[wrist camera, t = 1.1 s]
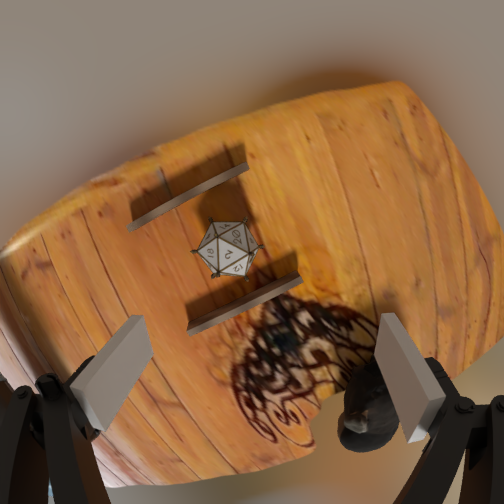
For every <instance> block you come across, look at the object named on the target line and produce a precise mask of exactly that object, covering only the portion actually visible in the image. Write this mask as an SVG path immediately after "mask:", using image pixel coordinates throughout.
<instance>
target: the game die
mask: <svg viewBox="0 0 504 504" xmlns="http://www.w3.org/2000/svg"><path fill="white" fill-rule="evenodd" d="M247 220H248V219H247V217H245V218H244V219H243V222H213V219H212V218H211V217H209V221H210V222H211V224H210V226H209V228H208V230H207V232H206V234H205V236H204V238H203V240H202V241H201V243H200V245H199V247H198V249H197V250H192V251H190V252H191V253H198V254H199V256H200V257H201V258H202V259H203V261H204V262H205V263H206V265H207V266H208V267H209V269H210V270H211V271H212V272H213V274H212V275H211V279H213V278H215V275H216V277H219V276H220V275H228V276H242V277H244V279H245V281H248V282H249V278H248V277H247V276H246V274H247V272H248V270H249V268H250V266H251V264H252V262H253V260H254V257H255V255H256V253H257V251H258V249H259V248H260V249H261V248H262V249H263V248H264V247H265V246H264V245H258V244H257V242H256V241H255V239H254V237H253V236H252V234H251V232H250V231H249V229H248V227H247V226H246V224H245V222H247Z"/></svg>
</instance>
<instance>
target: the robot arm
mask: <svg viewBox="0 0 504 504" xmlns="http://www.w3.org/2000/svg"><path fill="white" fill-rule="evenodd" d="M153 354H154V353H153V350H152V346H151V343H150V339H149V335H148V331H147V328H146V324H145V320H144V316H143V315H132V316H131V317H130V318H129V319H128V320H127V321H126V322H125V323H124V324H123V326H122V327H121V328H120V329H119V330H118V331H117V332H116V333H115V334H114V335H113V337H112V338H111V339H110V340H109V341H108V342H107V343H106V344H105V346H104V347H103V348H102V349H101V350H100V351H99V352H98V354H97V355H96V356H94V355H93V356H91V357H89V358H88V359H86V360H85V361H84V362H83V363H82V364H81V365H80V367H79V368H78V369H77V370H76V372H74V373H73V375H72V376H71V377H70V378H69V379H68V380H67V381H66V383H65V384H61V382H60V380H59V378H58V376H57V375H56V374H53V373H48V374H44V375H42V376H41V377H39V378H38V379H37V380H36V383H35V386H36V388H37V389H38V391H39V393H40V394H35V393H34V392H33V390H32V388H31V387H30V386H26V385H24V386H20V387H18V388H17V389H16V390H15V391H14V390H13V388H12V387H11V386H10V384H9V383H8V381H7V379H6V378H4V376H3V375H2V374H1V372H0V504H48V495H49V496H53V498H54V502H55V504H111V502H110V499H109V497H108V494H107V491H106V489H105V486H104V483H103V480H102V477H101V474H100V471H99V468H98V465H97V462H96V458H95V455H94V451H93V448H92V444H91V442H92V441H93V440H95V439H96V438H97V437H98V436H99V434H100V432H101V430H102V431H105V432H106V431H107V429H108V427H109V426H110V424H111V422H112V421H113V419H114V417H115V416H116V414H117V412H118V411H119V409H120V407H121V406H122V404H123V402H124V401H125V399H126V398H127V396H128V394H129V393H130V391H131V389H132V388H133V386H134V385H135V383H136V381H137V380H138V378H139V377H140V375H141V373H142V372H143V370H144V369H145V367H146V365H147V364H148V362H149V361H150V359H151V358H152V356H153ZM374 356H375V358H376V361H377V363H378V366H379V368H380V370H381V373H382V375H383V378H384V380H385V383H386V385H387V388H388V391H389V393H390V396H391V398H392V401H393V404H394V406H395V409H396V412H397V415H398V417H399V420H400V423H401V426H402V429H403V432H404V434H405V437H406V440H407V443H411V442H415V441H419V440H423V439H424V437H425V435H426V434H427V432H428V433H429V435H430V440H429V441H428V443H427V444H426V446H425V447H424V449H423V450H422V451H423V453H422V455H421V457H420V459H419V461H418V463H417V465H416V466H415V468H414V470H413V472H412V474H411V475H410V477H409V479H408V481H407V482H406V484H405V485H404V487H403V489H402V490H401V492H400V494H399V495H398V497H397V498H396V500H395V501H394V503H393V504H442V503H443V501H444V499H445V497H446V495H447V493H448V491H449V488H450V486H451V484H452V482H453V479H454V477H455V475H456V472H457V470H458V467H459V465H460V462H461V459H462V456H463V454H464V451H465V449H466V452H465V464H464V472H463V479H462V486H461V492H460V498H459V503H458V504H504V395H498V396H496V397H494V398H493V400H492V401H491V403H490V404H489V405H475V403H474V402H473V401H472V400H471V399H469V398H467V397H462V396H460V394H459V393H458V391H457V389H456V388H455V386H454V385H453V383H452V381H451V380H450V378H449V377H448V375H447V373H446V372H445V371H444V369H443V367H442V366H441V364H440V363H439V362H438V361H437V360H435V359H434V358H433V357H429V358H423V356H422V355H421V353H420V351H419V350H418V348H417V347H416V345H415V343H414V342H413V340H412V339H411V337H410V336H409V334H408V333H407V331H406V330H405V328H404V327H403V325H402V323H401V322H400V320H399V319H398V318H397V316H396V315H395V313H383V314H381V319H380V325H379V331H378V337H377V342H376V347H375V352H374Z"/></svg>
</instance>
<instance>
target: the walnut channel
mask: <svg viewBox="0 0 504 504" xmlns="http://www.w3.org/2000/svg"><path fill="white" fill-rule="evenodd" d="M249 169H250V168H249V166H248V164H247V162H244V163H242V164H240V165H238V166H236V167H234V168H232V169H230V170H227V171H225V172H223V173H221V174H219V175H217V176H215V177H213V178H211V179H209V180H207V181H206V182H204V183H202V184H200V185H198V186H196V187H194V188H192V189H190V190H188V191H186V192H185V193H183V194H181V195H179V196H177V197H175V198H173V199H172V200H170V201H168V202H166V203H164V204H163V205H161V206H159V207H157V208H156V209H154V210H152V211H150V212H149V213H147V214H145V215H143V216H142V217H140V218H138V219H137V220H135V221H133V222H132V223H130V224H128V225H127V226H126V227H127V229H128V231H129V232H131V231H134V230H136V229H138V228H140V227H141V226H143V225H145V224H146V223H148V222H150V221H152V220H153V219H155V218H157V217H159V216H161V215H162V214H164V213H166V212H168V211H170V210H171V209H173V208H175V207H177V206H179V205H181V204H182V203H184V202H186V201H188V200H190V199H192V198H194V197H196V196H197V195H199V194H201V193H203V192H205V191H207V190H209V189H211V188H213V187H215V186H217V185H219V184H221V183H223V182H225V181H227V180H229V179H231V178H233V177H235V176H237V175H239V174H241V173H243V172H245V171H248V170H249ZM301 283H303V280H302V278H301V276H300V275H299V273H298V272H297V271H294V272H292V273H290V274H288V275H286V276H284V277H282V278H280V279H278V280H276V281H274V282H272V283H270V284H268V285H266V286H264V287H262V288H260V289H258V290H256V291H254V292H251V293H249V294H247V295H245V296H243V297H241V298H239V299H237V300H235V301H233V302H231V303H229V304H227V305H225V306H222V307H220V308H218V309H216V310H214V311H212V312H210V313H208V314H206V315H203V316H201V317H199V318H197V319H195V320H193V321H191V322H189V323H188V327H187V333H188V334H189V336H192V335H195V334H197V333H199V332H201V331H204V330H206V329H208V328H210V327H212V326H214V325H217V324H219V323H221V322H223V321H225V320H227V319H230V318H232V317H234V316H236V315H238V314H240V313H242V312H244V311H246V310H249V309H251V308H253V307H255V306H257V305H259V304H261V303H263V302H265V301H267V300H269V299H271V298H273V297H275V296H277V295H279V294H281V293H283V292H285V291H287V290H289V289H291V288H293V287H295V286H297V285H299V284H301Z"/></svg>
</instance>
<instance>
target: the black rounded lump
mask: <svg viewBox="0 0 504 504" xmlns="http://www.w3.org/2000/svg"><path fill="white" fill-rule="evenodd" d="M352 376H353V377H352V378H351V379H350V381H349V383H348V385H347V388H346V391H345V395H344V412H343V413H342V414H341V415H340V417H339V419H338V430H337V432H338V437H339V439H340V442H341V444H342V445H343V446H344V447H345V448H346V449H348V450H351V451H354V452H369V451H372V450H376V449H378V448H381V447H382V446H384V445H385V444H386V443H387V442H388V441H390V440H391V438H392V437H393V435H394V434H395V432H396V430H397V428H398V425H399V422H400V420H399V417H398V415H397V412H396V409H395V406H394V404H393V401H392V398H391V396H390V393H389V391H388V388H387V385H386V383H385V380H384V378H383V375H382V373H381V370H380V368H379V366H378V363H377V361H376V358H375V356H374V354H373V355H372V356H371V362H370V363H368V364H365V365H359V366H356V367H355V368H354V369H352Z"/></svg>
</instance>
